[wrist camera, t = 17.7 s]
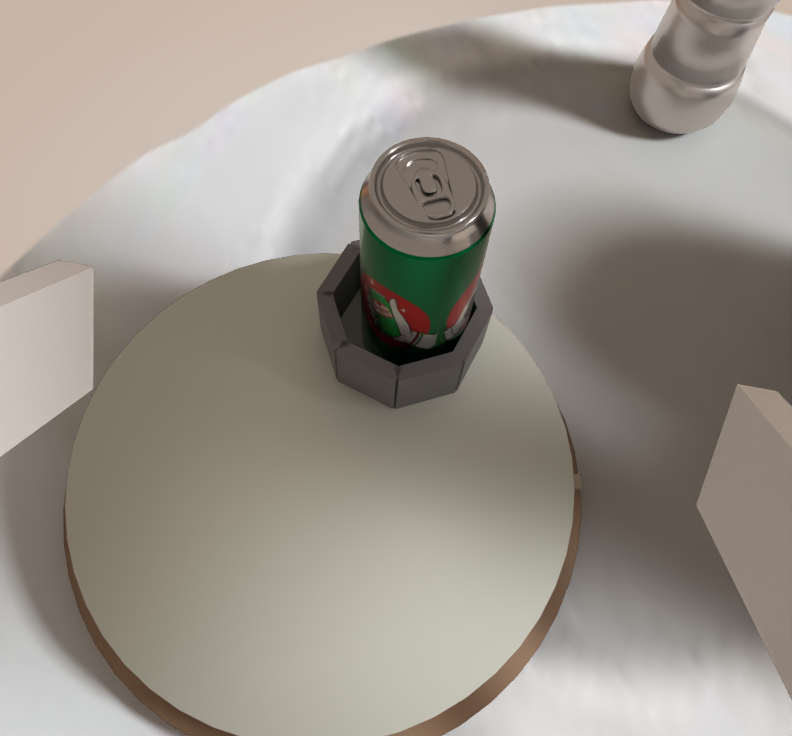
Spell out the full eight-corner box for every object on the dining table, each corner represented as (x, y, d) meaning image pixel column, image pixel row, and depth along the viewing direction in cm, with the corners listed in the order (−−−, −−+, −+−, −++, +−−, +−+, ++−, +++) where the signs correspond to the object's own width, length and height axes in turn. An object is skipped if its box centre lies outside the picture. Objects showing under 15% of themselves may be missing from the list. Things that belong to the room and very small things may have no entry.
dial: (434, 857, 30) (446, 885, 25) (-26, 579, 34) (-91, 557, 29) (640, 367, 39) (678, 320, 35) (263, 193, 43) (250, 128, 38)
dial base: (414, 218, 46) (417, 194, 44) (669, 585, 37) (688, 577, 35) (10, 402, 40) (-10, 385, 38) (201, 889, 31) (189, 902, 29)
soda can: (443, 282, 39) (472, 115, 28) (477, 367, 37) (522, 223, 26) (349, 307, 38) (341, 145, 27) (379, 395, 36) (382, 258, 25)
